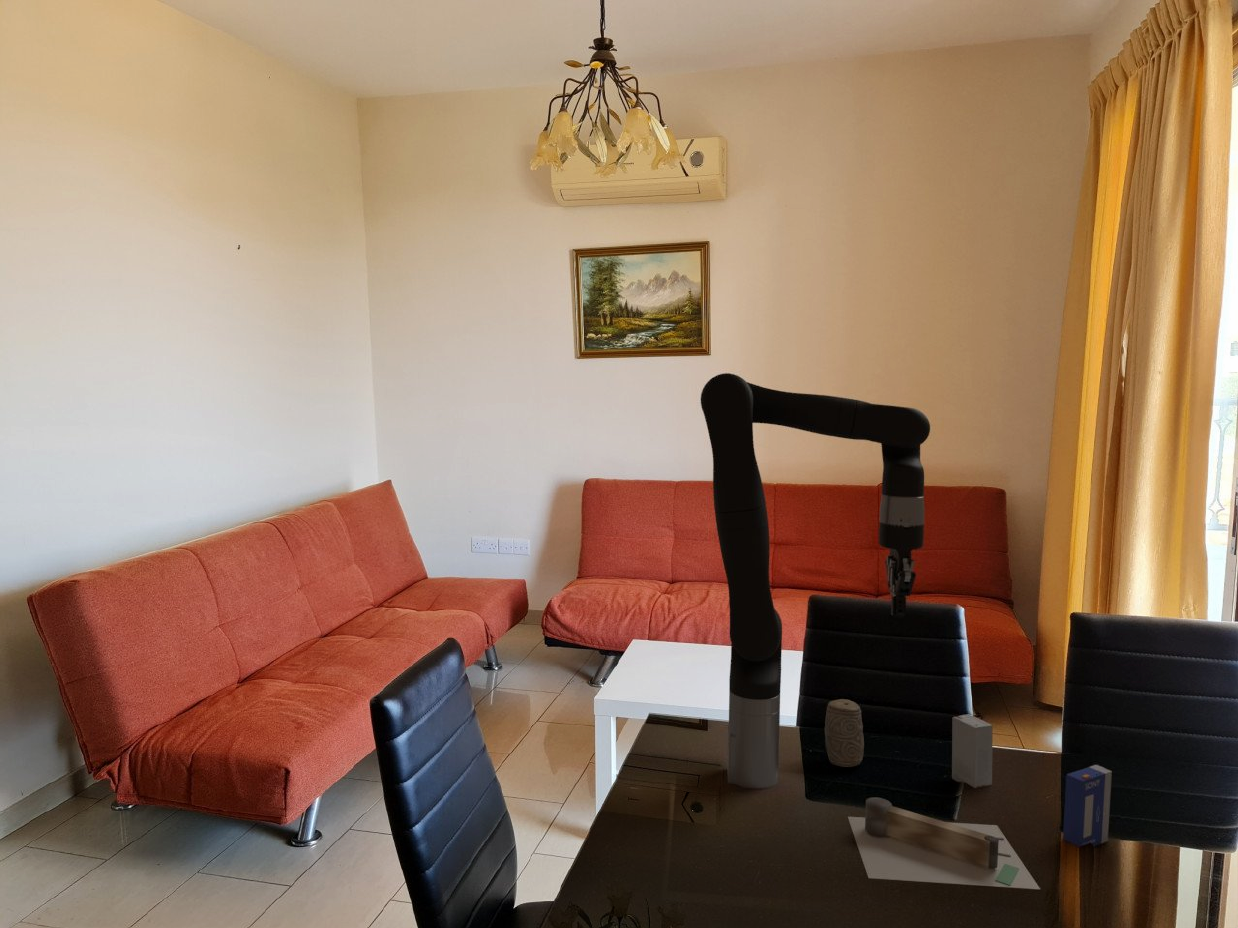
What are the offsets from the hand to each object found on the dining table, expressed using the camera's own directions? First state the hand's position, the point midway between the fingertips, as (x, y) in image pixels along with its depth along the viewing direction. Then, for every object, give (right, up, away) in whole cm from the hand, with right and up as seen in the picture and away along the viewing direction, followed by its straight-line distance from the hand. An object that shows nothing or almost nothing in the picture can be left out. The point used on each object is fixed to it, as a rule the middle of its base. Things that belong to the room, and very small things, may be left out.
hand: (898, 616), depth 149 cm
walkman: (+25, -34, -15) cm, 45 cm away
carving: (-6, -31, +13) cm, 34 cm away
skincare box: (+15, -32, +5) cm, 36 cm away
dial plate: (-1, -34, -19) cm, 39 cm away
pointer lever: (-2, -32, -19) cm, 38 cm away
